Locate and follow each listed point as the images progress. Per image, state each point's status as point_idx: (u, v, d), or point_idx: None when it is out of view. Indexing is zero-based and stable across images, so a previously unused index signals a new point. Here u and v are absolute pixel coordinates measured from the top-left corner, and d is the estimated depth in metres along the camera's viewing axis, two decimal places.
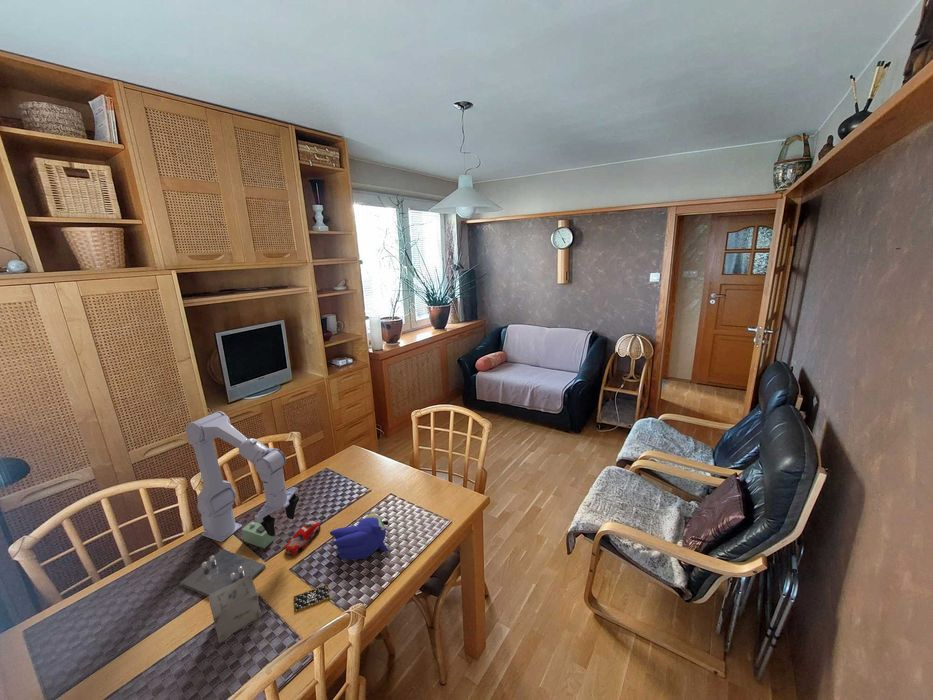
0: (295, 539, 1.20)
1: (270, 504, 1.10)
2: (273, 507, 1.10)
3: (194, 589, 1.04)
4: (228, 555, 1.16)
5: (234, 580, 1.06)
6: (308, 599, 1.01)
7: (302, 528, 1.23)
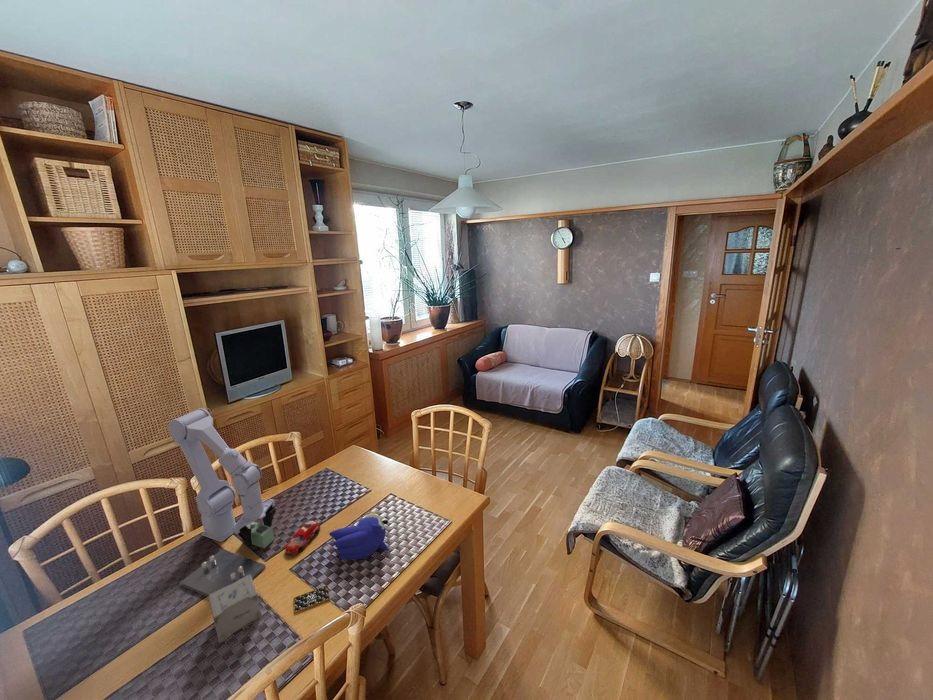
0: (295, 539, 1.20)
1: (247, 516, 1.17)
2: (250, 519, 1.17)
3: (194, 589, 1.04)
4: (228, 555, 1.16)
5: (234, 580, 1.06)
6: (308, 600, 1.01)
7: (302, 528, 1.23)
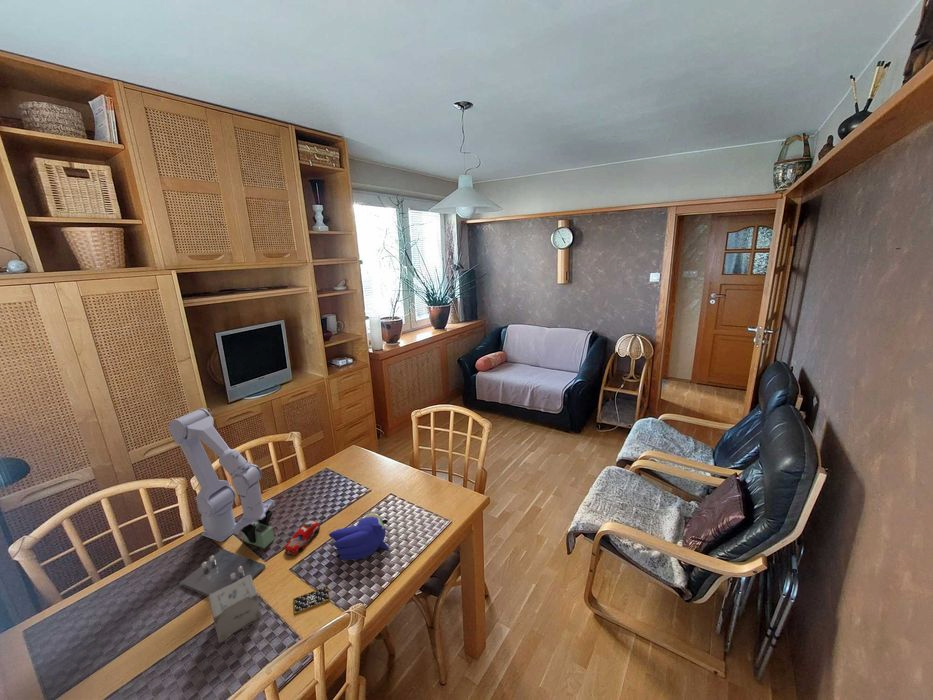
0: (295, 539, 1.20)
1: (247, 517, 1.17)
2: (250, 519, 1.17)
3: (194, 589, 1.04)
4: (228, 555, 1.16)
5: (234, 580, 1.06)
6: (308, 601, 1.01)
7: (302, 528, 1.23)
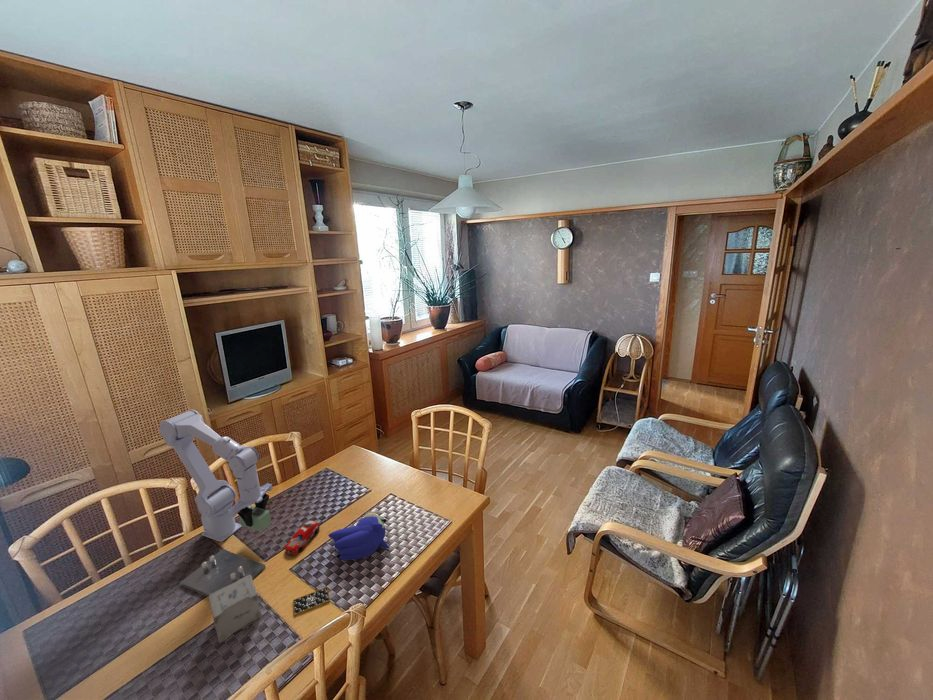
0: (295, 539, 1.20)
1: (243, 499, 1.15)
2: (246, 502, 1.15)
3: (194, 589, 1.04)
4: (228, 555, 1.16)
5: (234, 580, 1.06)
6: (307, 602, 1.00)
7: (301, 528, 1.23)
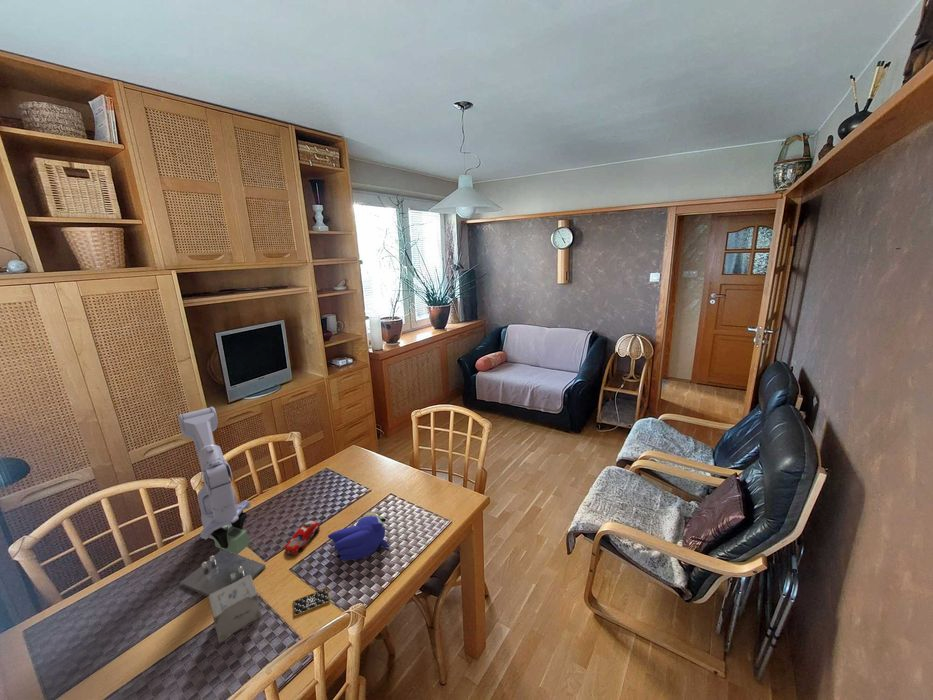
0: (295, 539, 1.20)
1: (217, 519, 1.06)
2: (220, 522, 1.06)
3: (194, 589, 1.04)
4: (228, 555, 1.16)
5: (234, 580, 1.06)
6: (307, 603, 1.00)
7: (301, 528, 1.23)
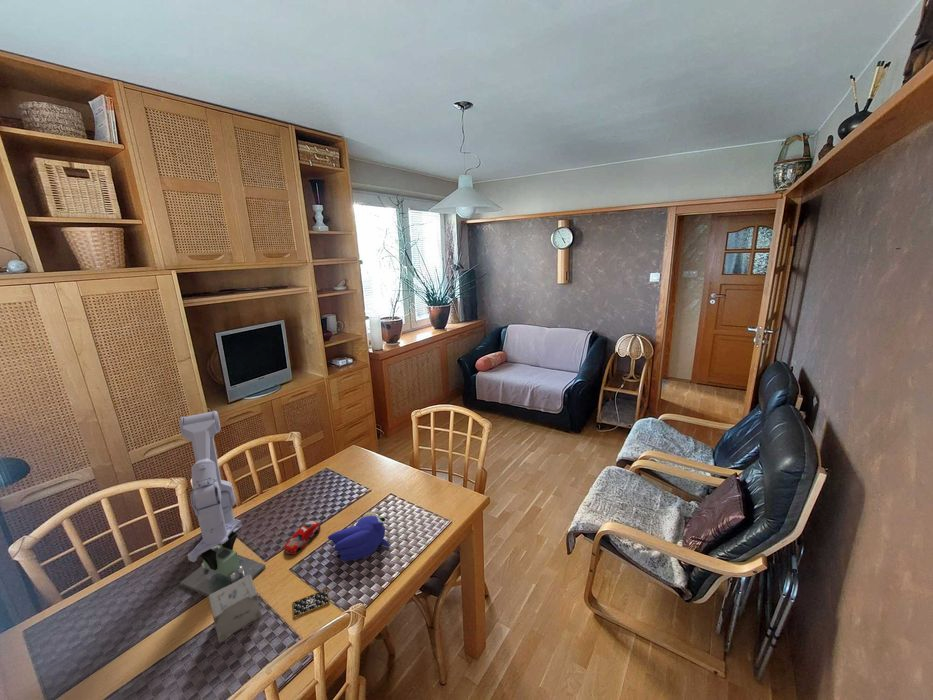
0: (294, 539, 1.20)
1: (206, 541, 1.03)
2: (209, 544, 1.03)
3: (194, 589, 1.04)
4: None
5: (234, 580, 1.06)
6: (307, 604, 1.00)
7: (302, 528, 1.23)
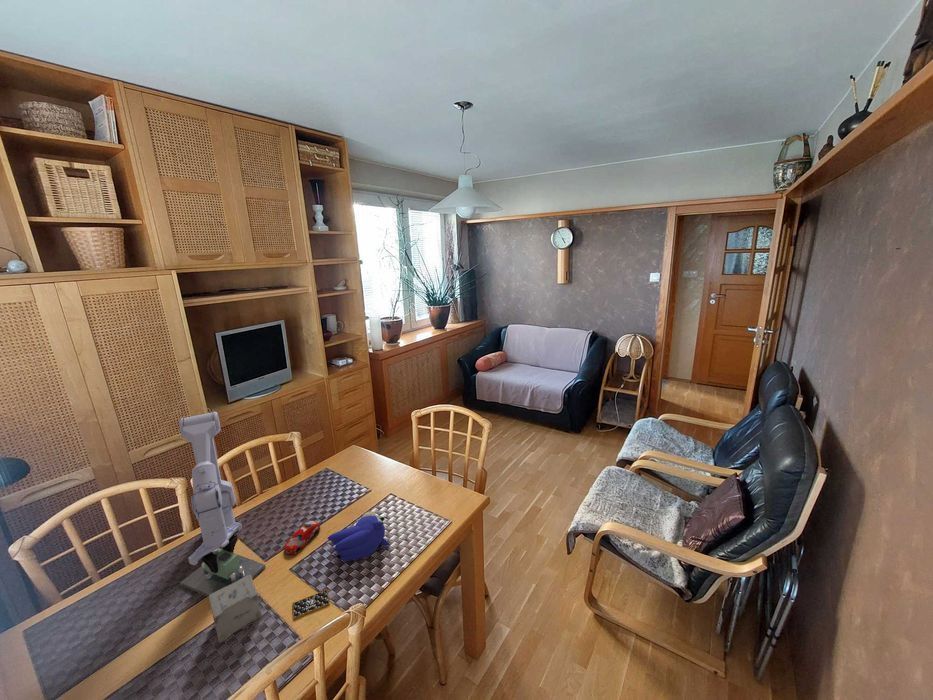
0: (294, 539, 1.20)
1: (207, 544, 1.03)
2: (210, 547, 1.03)
3: (194, 589, 1.04)
4: None
5: (234, 580, 1.06)
6: (307, 605, 1.00)
7: (301, 528, 1.23)
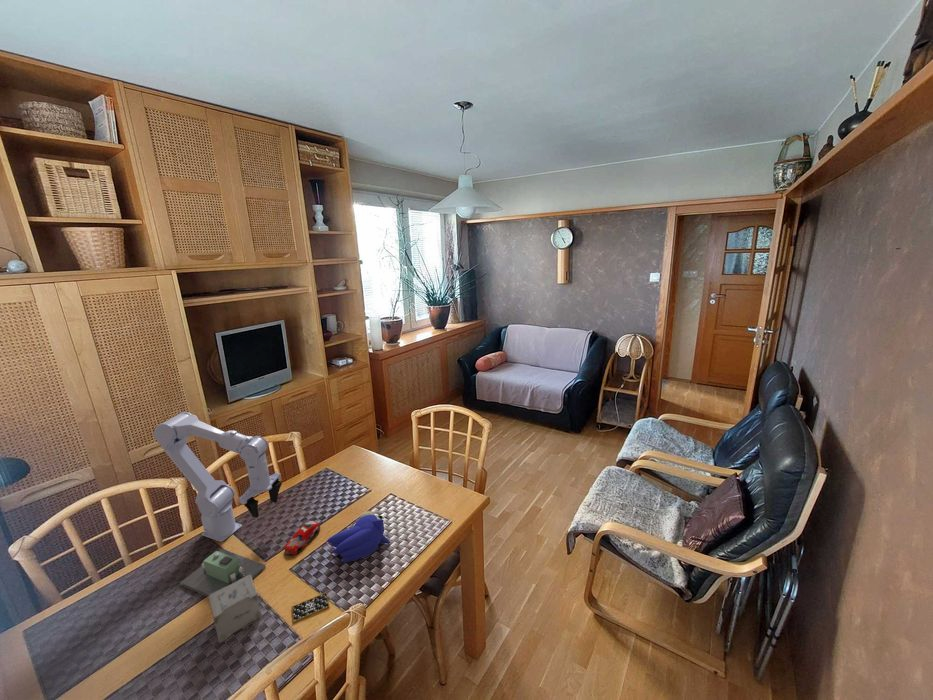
0: (294, 539, 1.20)
1: (254, 488, 1.19)
2: (256, 490, 1.19)
3: (194, 589, 1.04)
4: None
5: (234, 580, 1.06)
6: (306, 609, 0.99)
7: (302, 528, 1.23)
